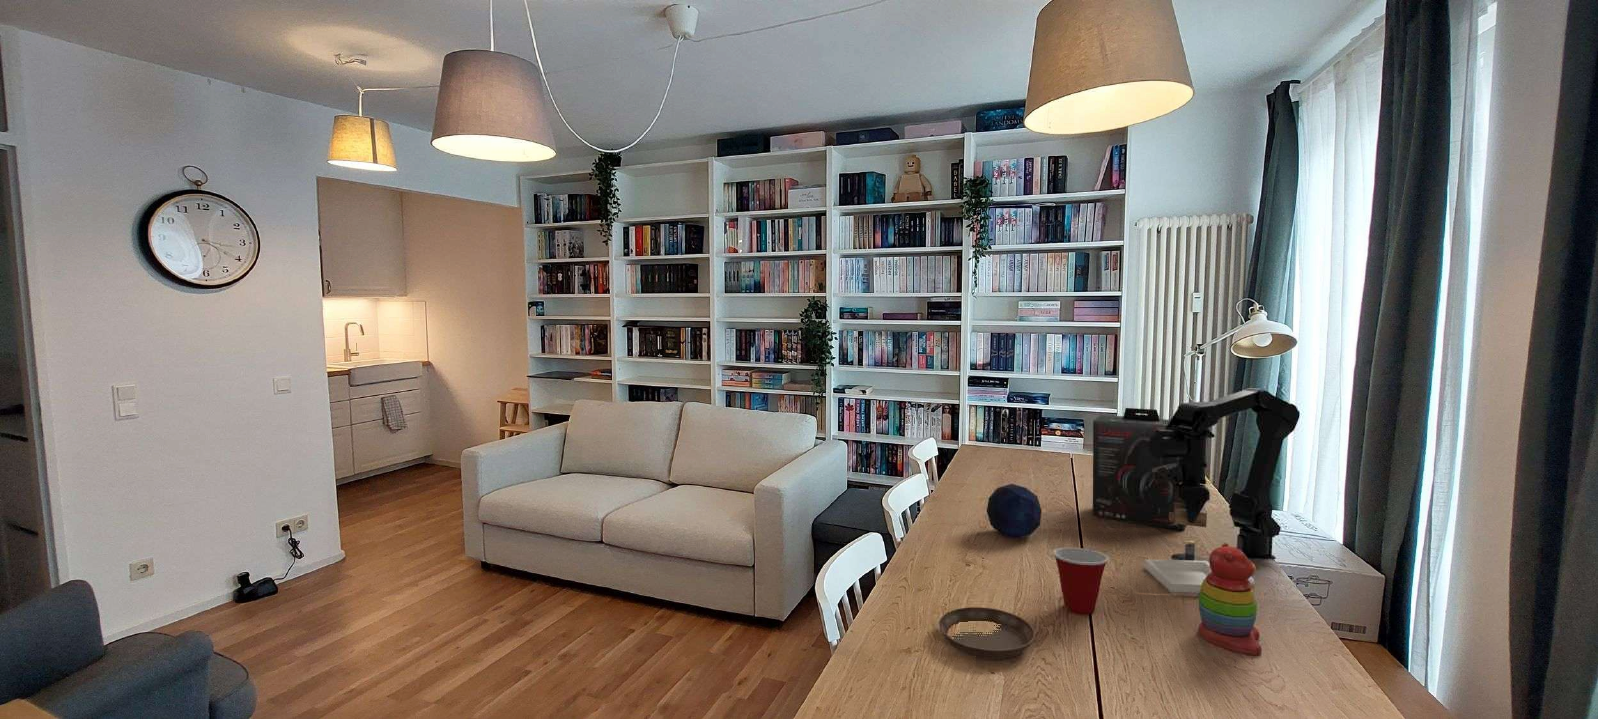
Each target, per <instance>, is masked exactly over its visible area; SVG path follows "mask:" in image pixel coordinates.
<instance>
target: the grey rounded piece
mask: <svg viewBox="0 0 1598 719" xmlns="http://www.w3.org/2000/svg"><path fill="white" fill-rule="evenodd" d="M1196 543H1197V542H1196V541H1195V540H1182V544H1183V545H1184V546H1185V547H1184V548H1185V550H1184V553H1175V554H1172V555H1171V556H1170V558H1171V560H1192V561H1207V562H1209V560H1207V559H1206V558H1204V557H1203V556H1202V557H1201V556H1199V555H1195V549H1196V547H1195V546H1196Z"/></svg>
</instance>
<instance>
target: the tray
mask: <svg viewBox="0 0 1598 719" xmlns="http://www.w3.org/2000/svg"><path fill="white" fill-rule="evenodd" d="M1207 561H1208V560H1207ZM1207 561H1192V560H1173V559H1144V570H1146V571H1147V572H1148V573H1149V574H1150V575H1152V577H1153V578H1154V579H1156V580H1157V582H1159V583H1160V584H1161V585H1162V586H1163V587H1164V588H1165V589H1166V590H1167V591H1168V592H1169V593H1170V595H1173V596H1174V595H1175V596H1176V595H1177V596H1180V595H1182V596H1199V592H1200V589H1201V586H1202V582H1203V580H1204V579H1205V578H1206V576H1207V575H1208V574H1209V573H1211V572H1212V571H1211V568H1210V564H1209V561H1208V562H1207Z"/></svg>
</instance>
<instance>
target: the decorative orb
mask: <svg viewBox="0 0 1598 719" xmlns="http://www.w3.org/2000/svg"><path fill="white" fill-rule="evenodd" d="M986 507H987V508H986V513H987V516H988V520H989V524H990V526H991V527H992V528H993V529H994V530H995V531H997V532H998V533H999V534H1000V535H1001V536H1005V537H1009V538H1011V537H1012V539H1014V538H1018V539H1022V538H1025V537H1027V536H1031V535H1032V534H1033V533H1034V532H1035V531H1036V530H1037V529H1038V528H1039V527H1040V525H1041V520H1042V519H1041V518H1042V510H1043V509H1042V507H1041V504H1040V500H1039V498H1038V496H1037V495H1036V494H1034V492H1032V491H1031V490H1030V489H1029V488H1028V487H1025V486H1023V485H1022V486H1021V485H1017V484H1014V483H1010V484H1006V485H1003V486H1000V487H997V488H996V489H995V490H994V491H993V492H992V493H991V495H990V496H989V497H988V501H987V506H986ZM1021 537H1022V538H1021Z"/></svg>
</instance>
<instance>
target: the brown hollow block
mask: <svg viewBox="0 0 1598 719" xmlns="http://www.w3.org/2000/svg"><path fill="white" fill-rule="evenodd" d="M1207 515H1208V512H1207V510H1206V507H1205V505H1204V506H1203V508H1202V510H1201V511H1200V513H1199V515H1198V516H1197V518H1196V520H1195V522H1194V523H1189V522H1188V517H1187V512H1186V506H1185V504H1184V503H1174V512H1169V520H1171V521H1175V524H1182V525H1186V526H1189V527H1190V526H1192V527H1199V528H1207V521H1208V520H1207V519H1208V518H1207Z"/></svg>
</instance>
